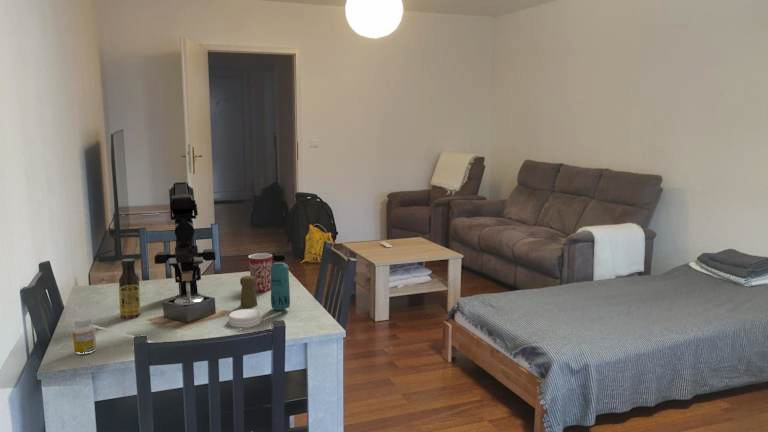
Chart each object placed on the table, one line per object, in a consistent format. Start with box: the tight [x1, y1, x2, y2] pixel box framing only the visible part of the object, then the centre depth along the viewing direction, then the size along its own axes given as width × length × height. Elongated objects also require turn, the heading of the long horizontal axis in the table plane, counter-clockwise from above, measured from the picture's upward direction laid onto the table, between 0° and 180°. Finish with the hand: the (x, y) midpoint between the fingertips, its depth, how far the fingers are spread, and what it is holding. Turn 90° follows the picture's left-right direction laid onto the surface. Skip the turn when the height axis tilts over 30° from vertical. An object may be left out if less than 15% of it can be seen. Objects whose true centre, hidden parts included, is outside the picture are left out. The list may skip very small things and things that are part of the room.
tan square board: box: [144, 307, 233, 331], centre depth 191 cm, size 20×20×1 cm
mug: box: [247, 252, 273, 293], centre depth 223 cm, size 13×9×14 cm
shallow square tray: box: [162, 293, 217, 324], centre depth 191 cm, size 14×12×6 cm
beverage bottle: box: [269, 252, 291, 310], centre depth 195 cm, size 6×7×20 cm
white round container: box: [228, 308, 262, 329], centre depth 185 cm, size 10×10×4 cm
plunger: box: [174, 271, 204, 306], centre depth 190 cm, size 9×9×10 cm
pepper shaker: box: [239, 275, 258, 309], centre depth 201 cm, size 6×6×11 cm
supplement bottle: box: [72, 316, 97, 353], centre depth 162 cm, size 5×5×10 cm
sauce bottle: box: [118, 258, 141, 320], centre depth 190 cm, size 6×6×20 cm
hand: (187, 281), depth 189 cm, fingers closed on plunger, 3 cm apart
